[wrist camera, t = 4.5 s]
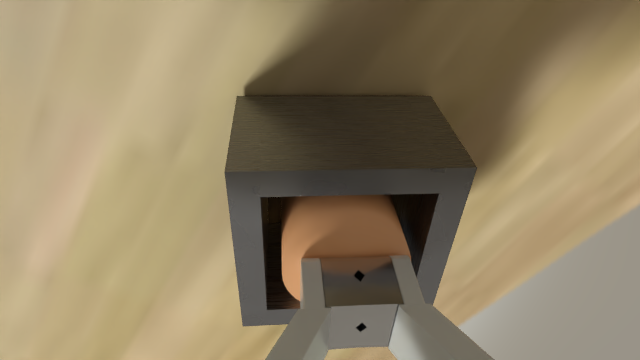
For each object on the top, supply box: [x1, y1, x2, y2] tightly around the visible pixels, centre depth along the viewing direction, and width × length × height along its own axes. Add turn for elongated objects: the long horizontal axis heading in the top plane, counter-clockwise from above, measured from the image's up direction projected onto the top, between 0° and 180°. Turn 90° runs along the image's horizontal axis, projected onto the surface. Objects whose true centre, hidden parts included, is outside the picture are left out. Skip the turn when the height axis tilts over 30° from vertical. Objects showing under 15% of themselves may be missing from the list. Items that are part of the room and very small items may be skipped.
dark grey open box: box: [225, 96, 477, 326], centre depth 14 cm, size 6×6×4 cm
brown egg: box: [281, 194, 411, 301], centre depth 13 cm, size 4×4×4 cm
